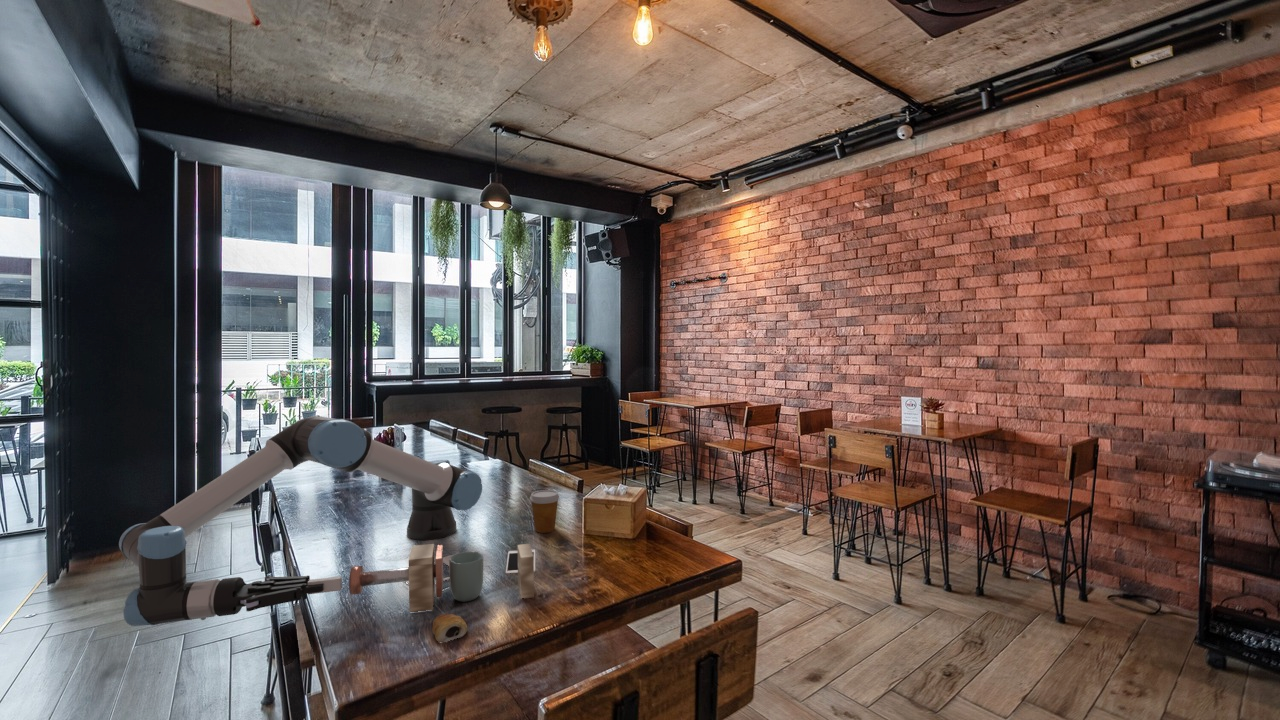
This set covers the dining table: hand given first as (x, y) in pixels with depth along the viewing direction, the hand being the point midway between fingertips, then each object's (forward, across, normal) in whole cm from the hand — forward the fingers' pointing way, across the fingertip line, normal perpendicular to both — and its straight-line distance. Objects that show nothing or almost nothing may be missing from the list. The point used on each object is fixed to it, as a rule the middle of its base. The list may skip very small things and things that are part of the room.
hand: (340, 583), depth 128 cm
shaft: (+12, 0, -4) cm, 13 cm away
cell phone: (+42, -20, -8) cm, 47 cm away
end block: (+41, 0, -7) cm, 42 cm away
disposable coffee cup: (+52, -44, -8) cm, 69 cm away
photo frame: (+20, -19, -8) cm, 29 cm away
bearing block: (+17, 0, -7) cm, 19 cm away
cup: (+27, 0, -8) cm, 28 cm away
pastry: (+23, +16, -8) cm, 29 cm away
